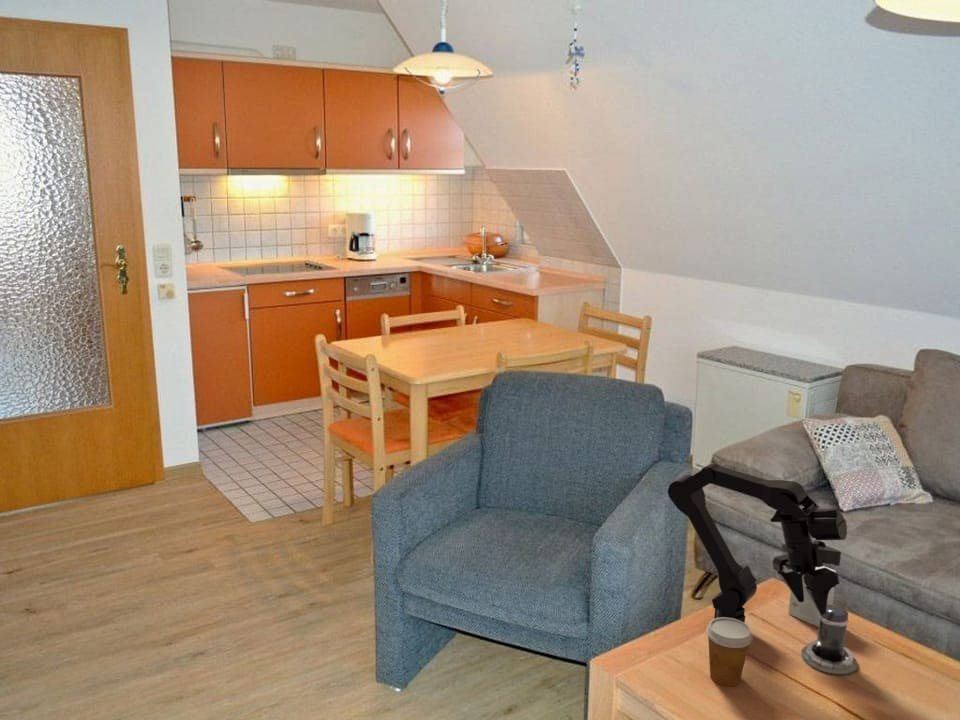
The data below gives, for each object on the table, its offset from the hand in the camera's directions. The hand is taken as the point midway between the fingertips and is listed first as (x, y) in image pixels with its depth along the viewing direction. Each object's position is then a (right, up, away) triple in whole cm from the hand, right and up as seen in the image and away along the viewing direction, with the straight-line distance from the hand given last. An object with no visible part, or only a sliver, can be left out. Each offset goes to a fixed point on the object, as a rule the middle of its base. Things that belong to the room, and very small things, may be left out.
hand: (811, 607), depth 187 cm
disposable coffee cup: (-21, -14, -6) cm, 26 cm away
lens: (+4, -12, +2) cm, 13 cm away
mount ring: (+4, -12, +2) cm, 13 cm away
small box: (+7, -8, +20) cm, 23 cm away
